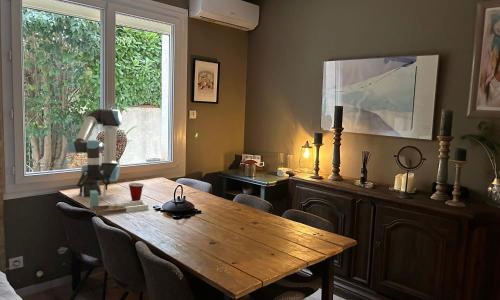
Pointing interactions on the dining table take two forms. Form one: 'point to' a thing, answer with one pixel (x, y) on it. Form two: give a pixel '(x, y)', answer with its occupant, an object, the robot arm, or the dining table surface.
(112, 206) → the cube
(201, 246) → the dining table surface
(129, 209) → the tray
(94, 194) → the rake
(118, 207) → the cube
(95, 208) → the channel board
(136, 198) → the plastic cup
